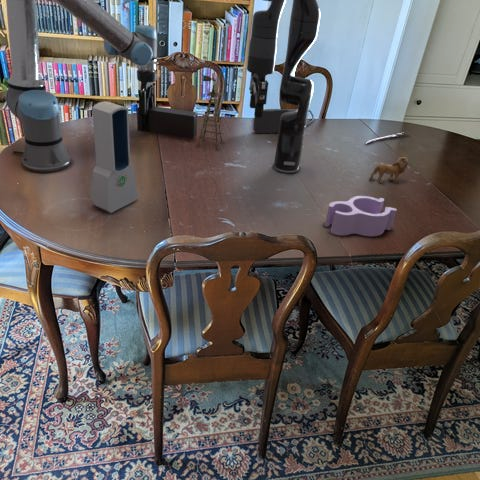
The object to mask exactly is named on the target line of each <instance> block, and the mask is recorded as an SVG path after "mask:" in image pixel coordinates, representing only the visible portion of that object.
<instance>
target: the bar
mask: <svg viewBox="0 0 480 480" xmlns="http://www.w3.org/2000/svg"><path fill="white" fill-rule="evenodd" d="M148 118H149V131H142V124H141V115H139V106H138V107H136V122H137V123H136V124H137V127H136V129H137V132H143V133H149V134H155V135H163V136H170V137H177V138H183V139H189V140H194V139H195V138H196V136H197V134H198V112H197V111H189V110H185V109H177V108H170V107H164V106H163V107H162V106H156V105H155V106H150V105H148Z"/></svg>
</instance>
